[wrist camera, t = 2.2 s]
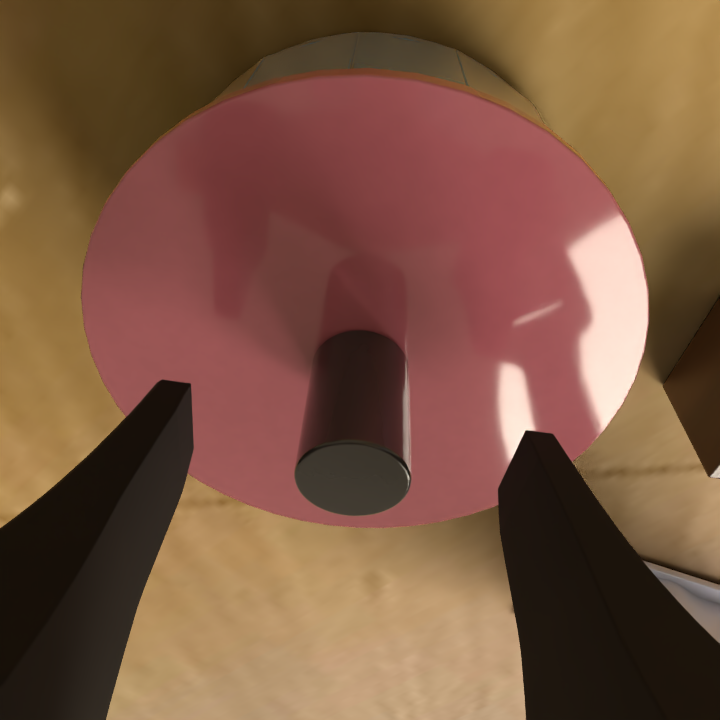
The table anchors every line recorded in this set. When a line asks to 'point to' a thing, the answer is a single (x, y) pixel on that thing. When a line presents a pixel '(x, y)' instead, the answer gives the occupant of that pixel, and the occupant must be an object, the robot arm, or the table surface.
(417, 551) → the table surface
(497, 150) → the lid
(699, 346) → the block
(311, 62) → the bowl
